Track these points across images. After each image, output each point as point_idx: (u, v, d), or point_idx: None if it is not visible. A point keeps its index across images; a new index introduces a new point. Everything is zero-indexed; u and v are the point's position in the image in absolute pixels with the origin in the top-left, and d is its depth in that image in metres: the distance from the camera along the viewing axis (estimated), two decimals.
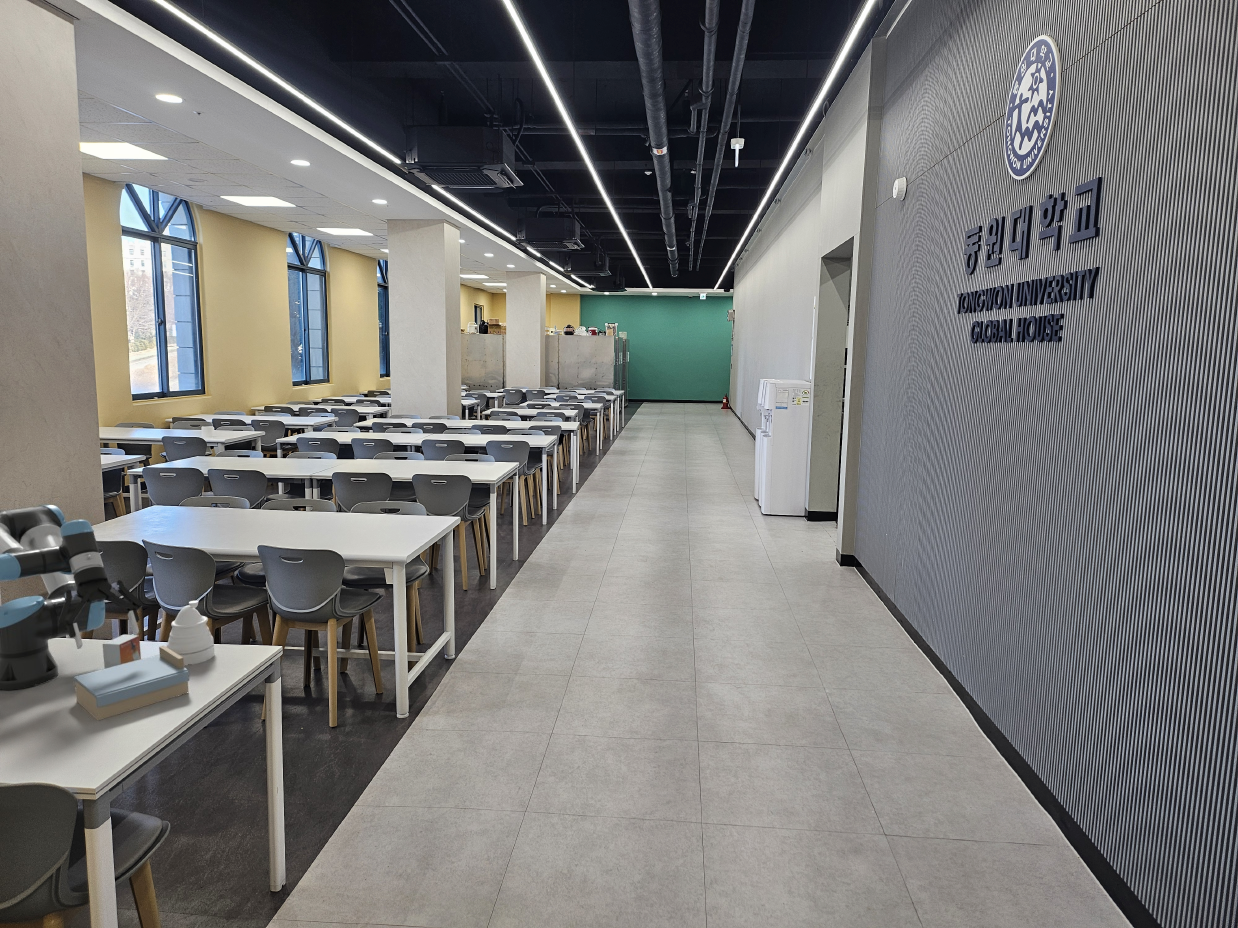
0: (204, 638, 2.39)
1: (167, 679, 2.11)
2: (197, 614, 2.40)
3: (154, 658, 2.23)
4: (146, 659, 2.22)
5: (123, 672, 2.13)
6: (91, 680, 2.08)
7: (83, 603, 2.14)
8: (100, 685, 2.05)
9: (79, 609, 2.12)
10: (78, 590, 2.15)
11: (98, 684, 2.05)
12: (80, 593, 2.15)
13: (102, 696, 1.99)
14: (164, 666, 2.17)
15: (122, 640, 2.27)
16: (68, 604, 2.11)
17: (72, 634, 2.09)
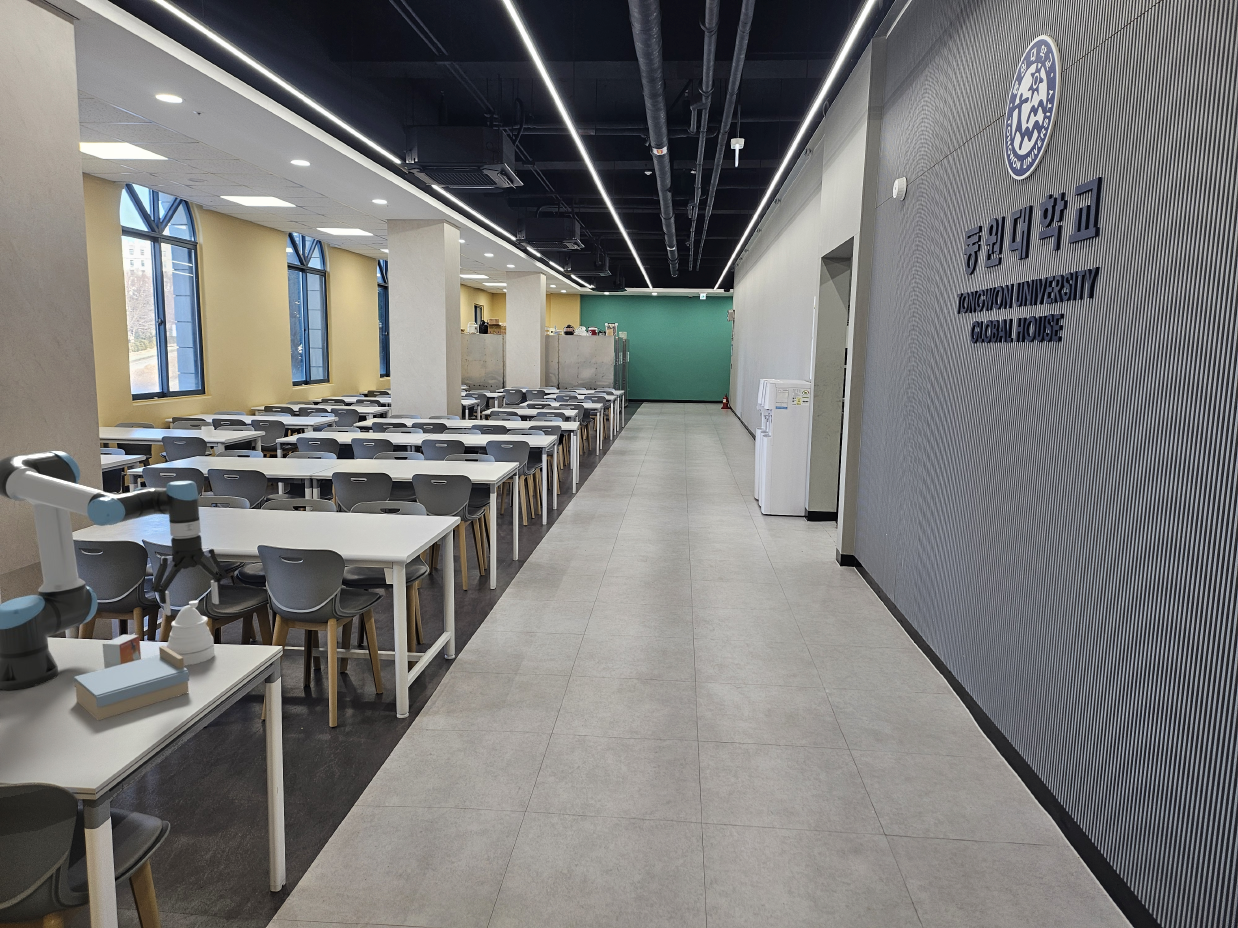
0: (204, 638, 2.39)
1: (167, 679, 2.11)
2: (197, 614, 2.40)
3: (154, 658, 2.23)
4: (146, 659, 2.22)
5: (123, 672, 2.13)
6: (91, 680, 2.08)
7: (177, 572, 2.18)
8: (100, 685, 2.05)
9: (172, 578, 2.18)
10: (174, 557, 2.18)
11: (98, 684, 2.05)
12: (175, 560, 2.18)
13: (102, 696, 1.99)
14: (164, 666, 2.17)
15: (122, 640, 2.27)
16: (163, 572, 2.16)
17: (163, 602, 2.17)
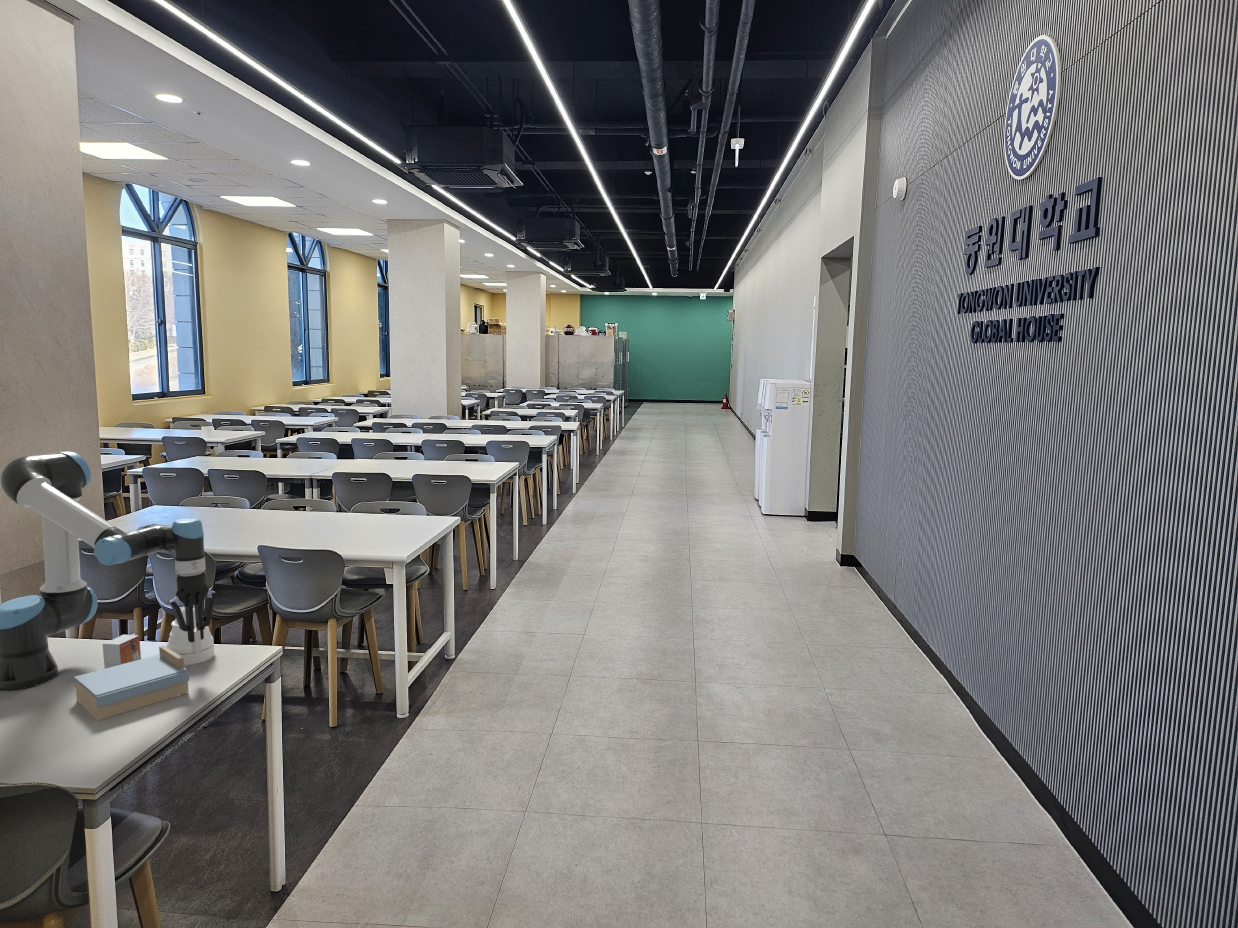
0: (204, 638, 2.39)
1: (167, 679, 2.11)
2: None
3: (154, 658, 2.23)
4: (146, 659, 2.22)
5: (123, 672, 2.13)
6: (91, 680, 2.08)
7: (191, 609, 2.22)
8: (100, 685, 2.05)
9: (192, 616, 2.22)
10: (179, 596, 2.20)
11: (98, 684, 2.05)
12: (182, 598, 2.20)
13: (102, 696, 1.99)
14: (164, 666, 2.17)
15: (122, 640, 2.27)
16: (180, 613, 2.20)
17: (191, 641, 2.23)
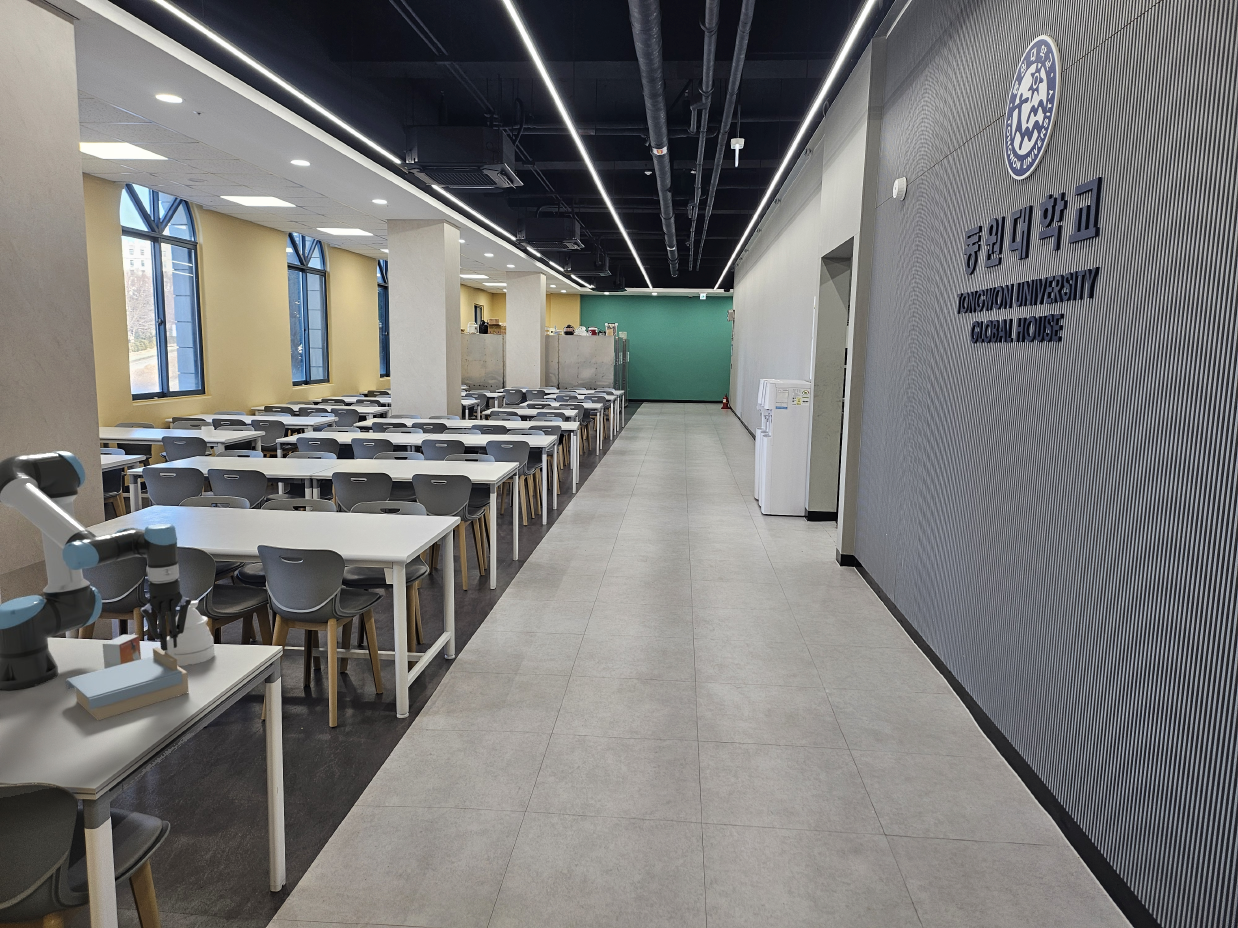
0: (204, 638, 2.39)
1: (161, 681, 2.10)
2: (197, 614, 2.40)
3: (147, 660, 2.22)
4: (139, 661, 2.21)
5: (116, 674, 2.12)
6: (83, 682, 2.06)
7: (164, 617, 2.17)
8: (93, 687, 2.04)
9: (164, 623, 2.17)
10: (151, 604, 2.14)
11: (91, 686, 2.04)
12: (155, 605, 2.15)
13: (94, 698, 1.98)
14: (158, 668, 2.16)
15: (122, 640, 2.27)
16: (152, 621, 2.15)
17: (164, 649, 2.18)
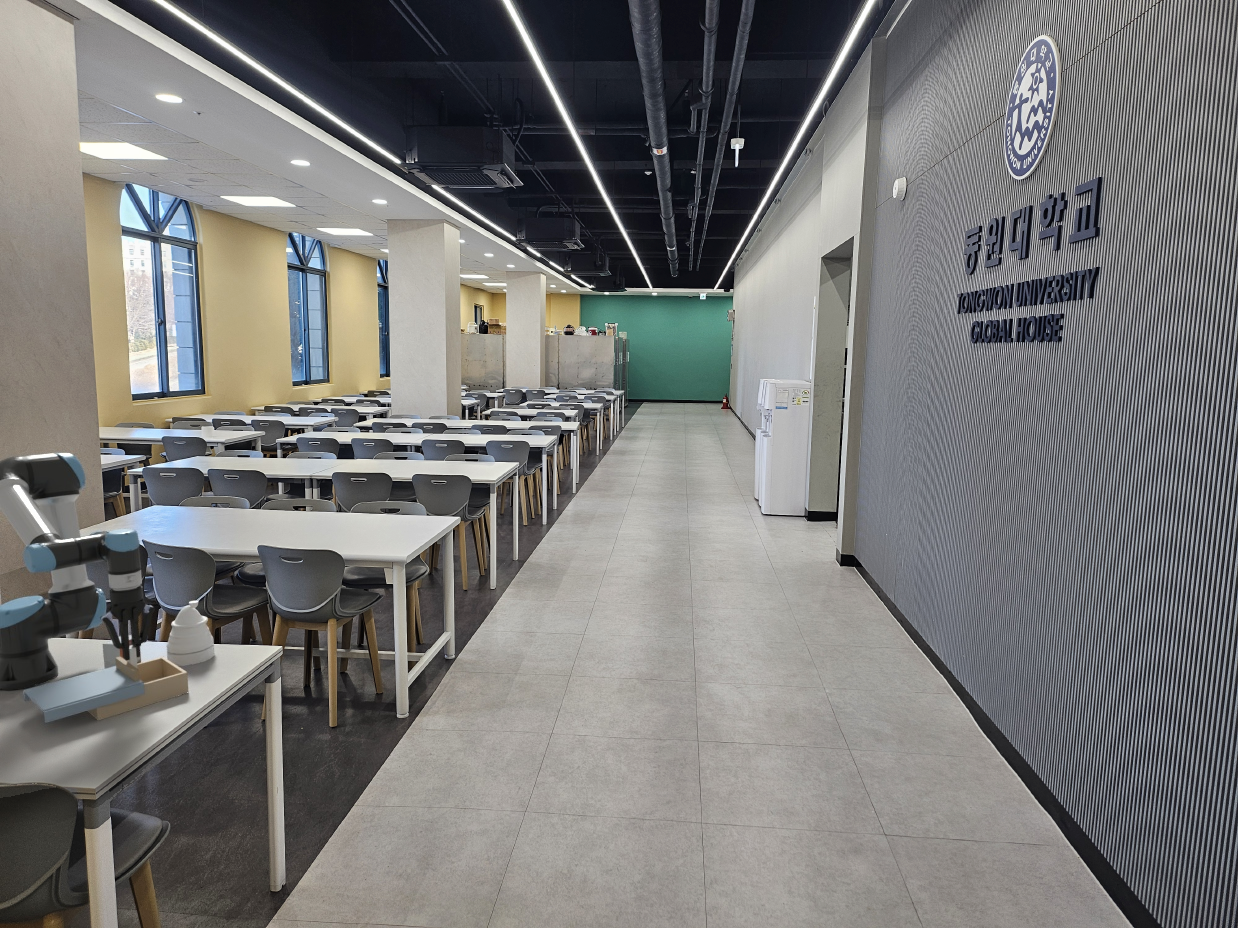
0: (204, 638, 2.39)
1: (121, 693, 2.03)
2: (197, 614, 2.40)
3: (110, 670, 2.14)
4: (101, 671, 2.14)
5: (75, 685, 2.05)
6: (41, 694, 1.99)
7: (126, 625, 2.10)
8: (50, 699, 1.96)
9: (126, 632, 2.10)
10: (112, 612, 2.07)
11: (47, 698, 1.97)
12: (116, 613, 2.08)
13: (50, 711, 1.91)
14: (120, 678, 2.09)
15: None
16: (114, 629, 2.08)
17: (126, 659, 2.11)
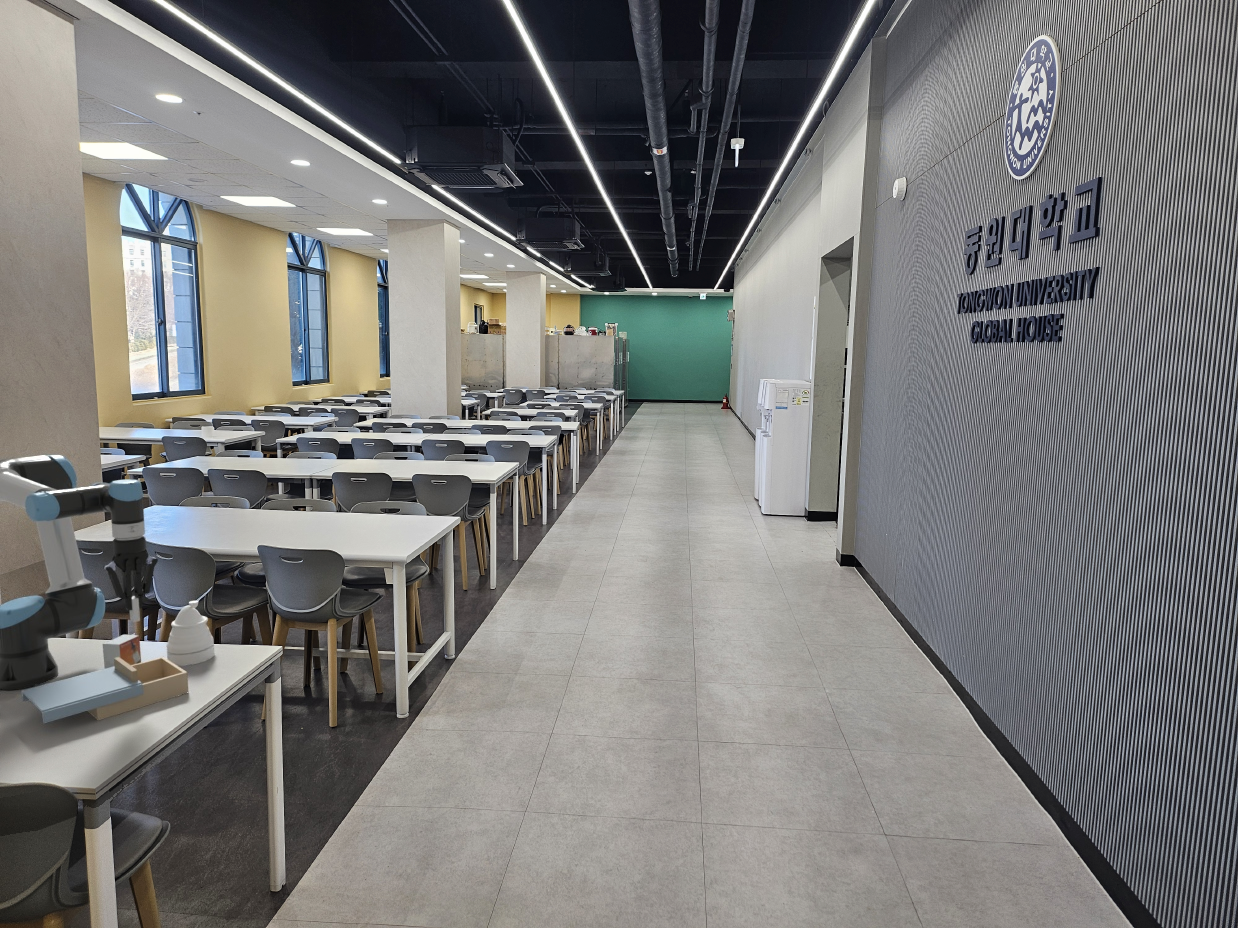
0: (204, 638, 2.39)
1: (120, 693, 2.02)
2: (197, 614, 2.40)
3: (108, 670, 2.14)
4: (100, 671, 2.13)
5: (74, 685, 2.04)
6: (39, 694, 1.99)
7: (129, 575, 2.10)
8: (48, 699, 1.96)
9: (129, 582, 2.11)
10: (115, 562, 2.08)
11: (46, 698, 1.97)
12: (119, 563, 2.08)
13: (48, 711, 1.91)
14: (118, 679, 2.09)
15: (122, 640, 2.27)
16: (117, 579, 2.08)
17: (129, 609, 2.12)
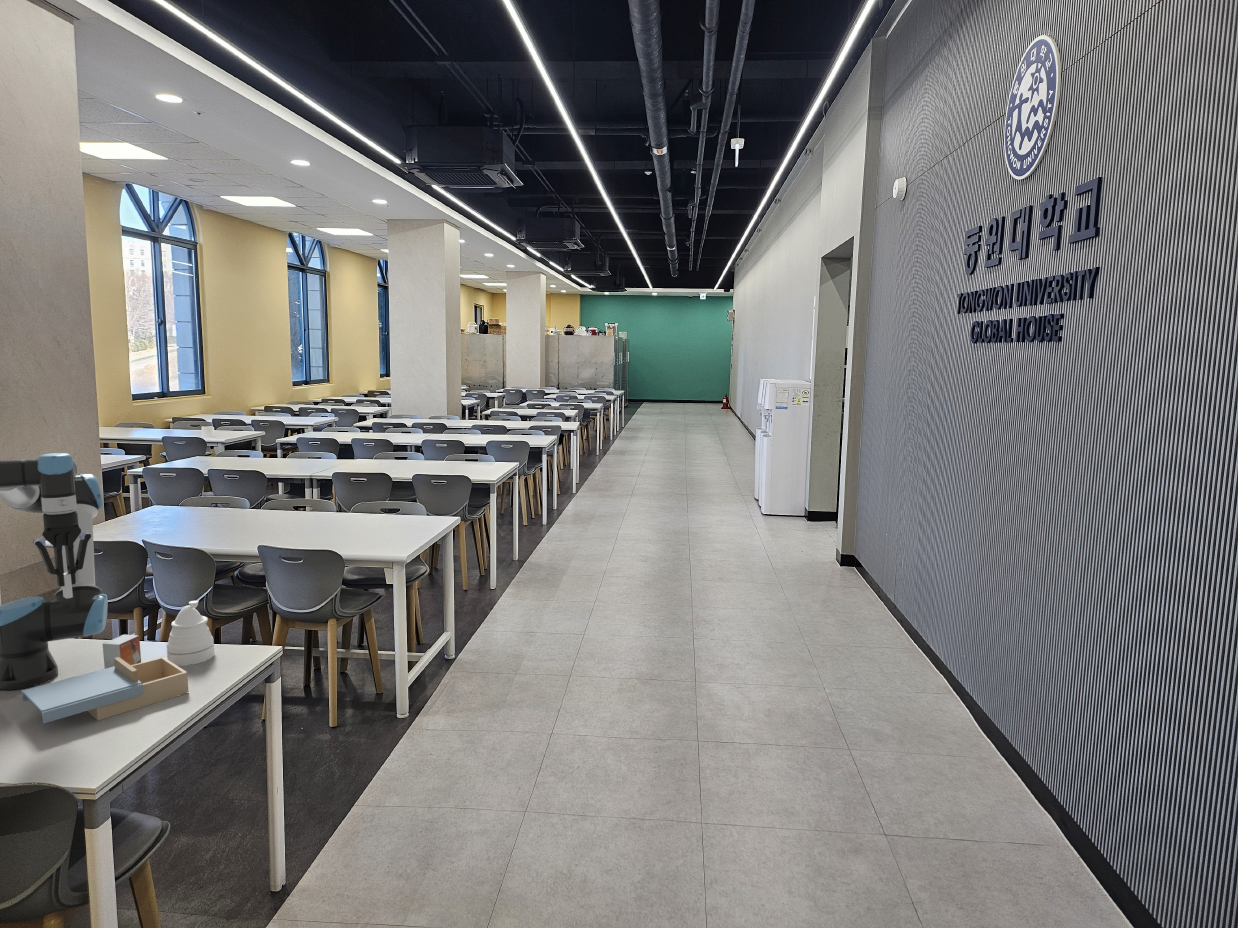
0: (204, 638, 2.39)
1: (120, 693, 2.02)
2: (197, 614, 2.40)
3: (108, 670, 2.14)
4: (100, 671, 2.13)
5: (74, 685, 2.04)
6: (39, 694, 1.99)
7: (60, 551, 2.07)
8: (48, 699, 1.96)
9: (61, 558, 2.07)
10: (45, 536, 2.04)
11: (46, 698, 1.97)
12: (49, 538, 2.05)
13: (48, 711, 1.91)
14: (118, 679, 2.09)
15: (122, 640, 2.27)
16: (47, 554, 2.04)
17: (61, 585, 2.08)
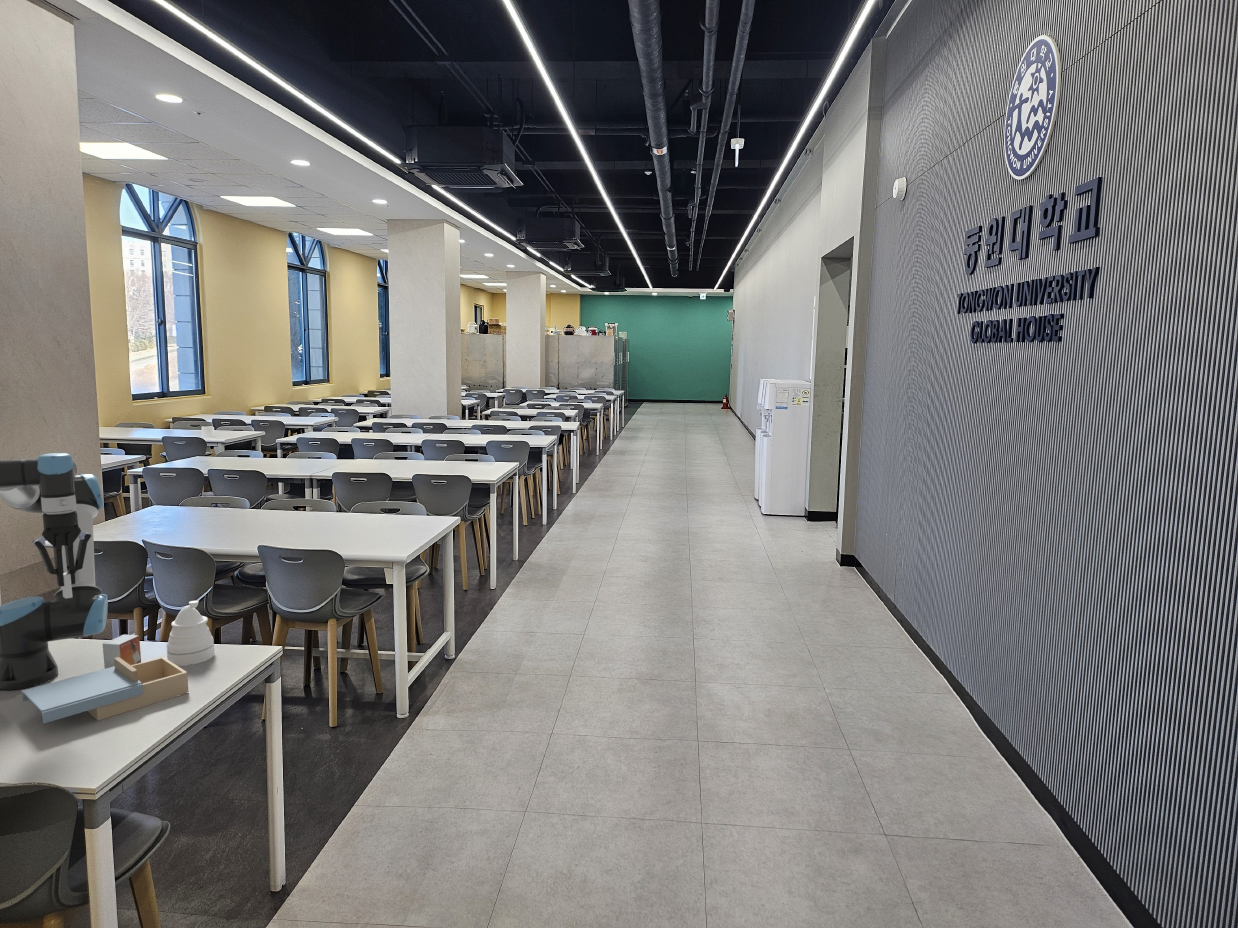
0: (204, 638, 2.39)
1: (120, 693, 2.02)
2: (197, 614, 2.40)
3: (108, 670, 2.14)
4: (100, 671, 2.13)
5: (74, 685, 2.04)
6: (39, 694, 1.99)
7: (60, 551, 2.07)
8: (48, 699, 1.96)
9: (60, 558, 2.07)
10: (45, 536, 2.04)
11: (46, 698, 1.97)
12: (49, 538, 2.05)
13: (48, 711, 1.91)
14: (118, 679, 2.09)
15: (122, 640, 2.27)
16: (46, 554, 2.04)
17: (60, 585, 2.08)
